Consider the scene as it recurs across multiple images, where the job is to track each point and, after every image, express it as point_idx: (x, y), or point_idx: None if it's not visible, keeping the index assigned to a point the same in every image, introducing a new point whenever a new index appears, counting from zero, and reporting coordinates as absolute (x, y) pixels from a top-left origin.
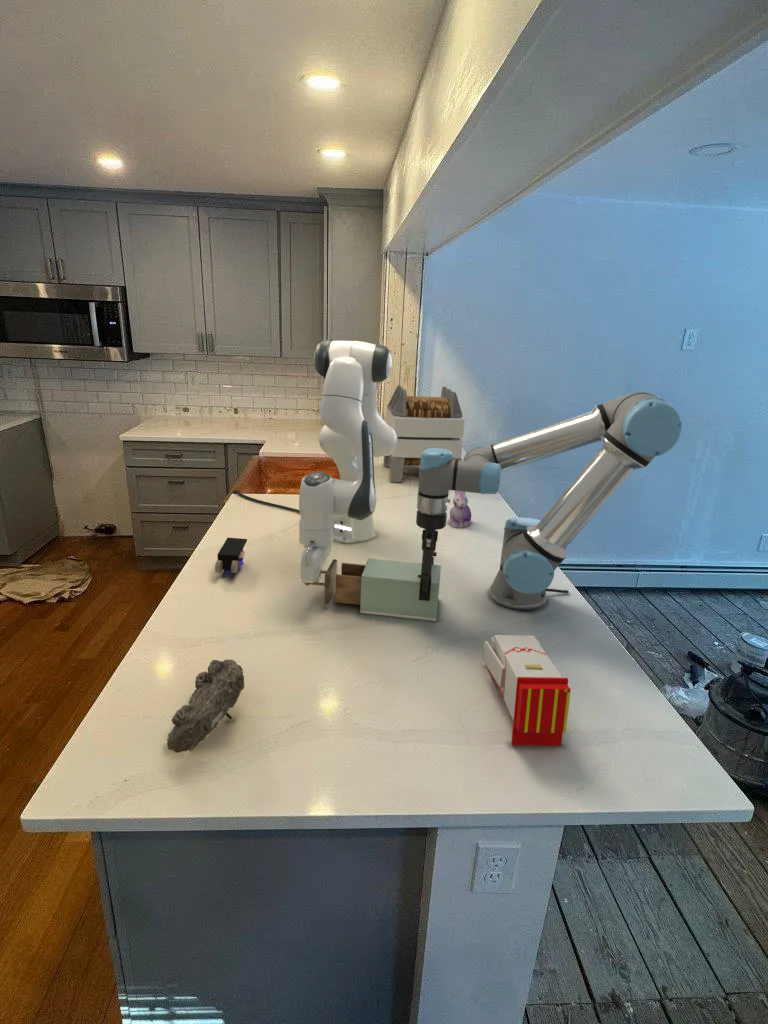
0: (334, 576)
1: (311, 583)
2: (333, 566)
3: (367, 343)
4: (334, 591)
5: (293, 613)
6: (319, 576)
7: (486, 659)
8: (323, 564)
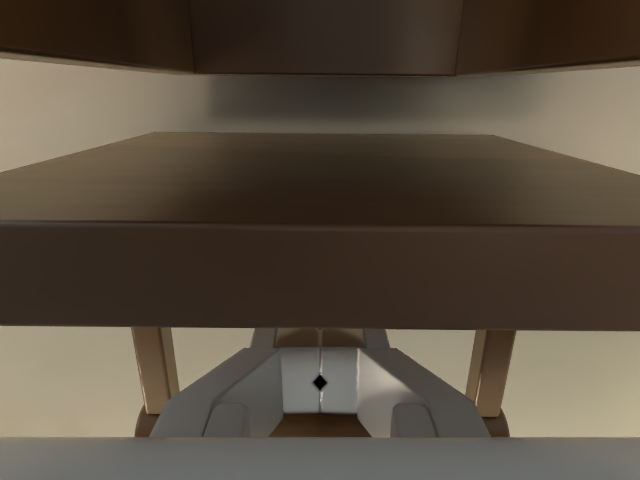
0: (233, 161)
1: (498, 391)
2: (284, 229)
3: None
4: (251, 133)
5: (557, 350)
6: (307, 350)
7: None
8: (258, 456)
